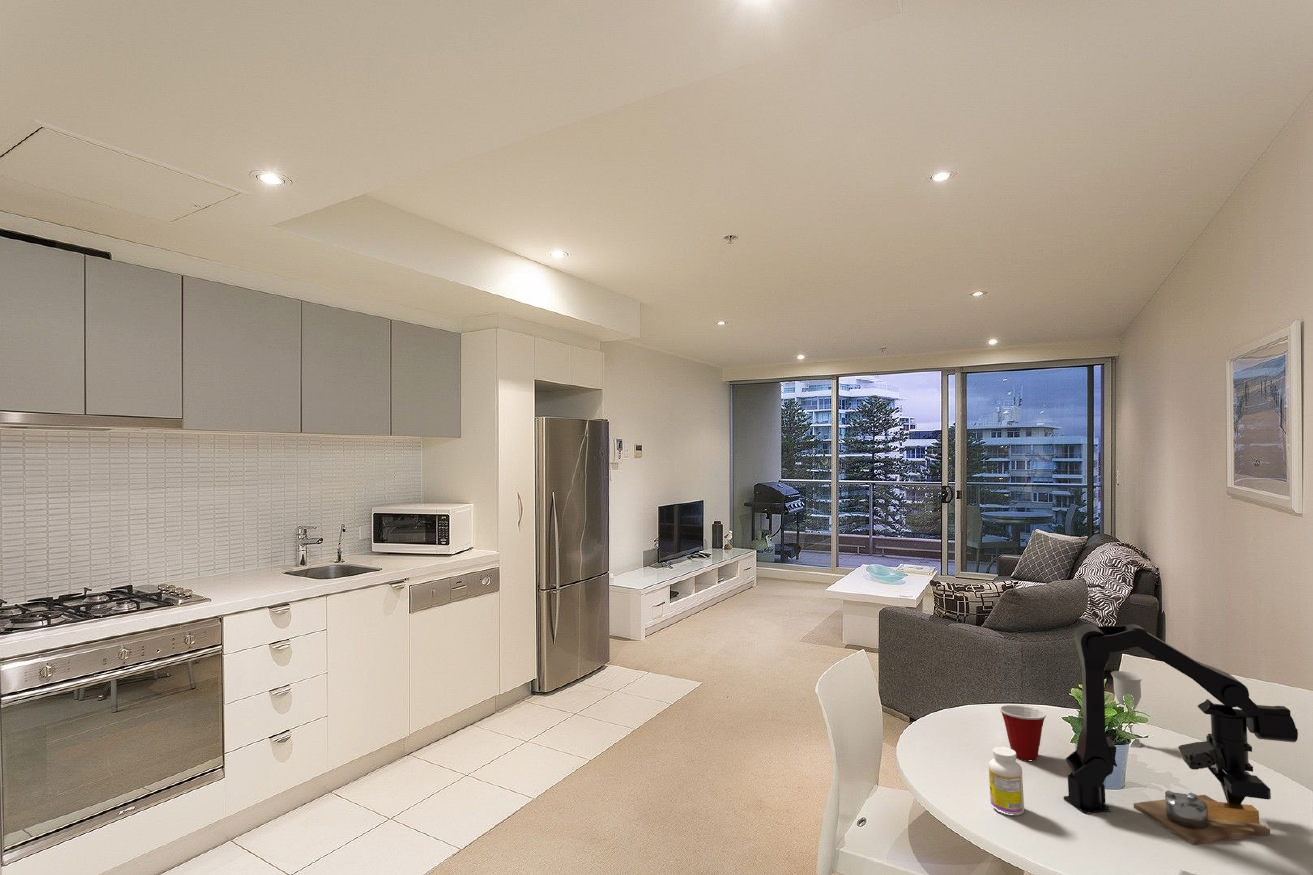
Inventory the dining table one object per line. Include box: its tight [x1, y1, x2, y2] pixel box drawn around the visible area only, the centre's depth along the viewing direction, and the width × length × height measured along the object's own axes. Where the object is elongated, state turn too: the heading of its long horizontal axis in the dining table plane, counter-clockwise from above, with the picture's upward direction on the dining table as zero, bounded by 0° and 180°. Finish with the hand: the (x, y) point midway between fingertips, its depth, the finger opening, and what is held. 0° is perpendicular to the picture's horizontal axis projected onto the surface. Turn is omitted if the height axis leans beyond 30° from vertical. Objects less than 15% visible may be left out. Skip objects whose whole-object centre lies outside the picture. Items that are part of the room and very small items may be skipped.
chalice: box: [1110, 670, 1143, 748], centre depth 177 cm, size 7×7×18 cm
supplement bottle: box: [988, 746, 1025, 816], centre depth 147 cm, size 7×7×13 cm
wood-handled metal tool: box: [1164, 790, 1260, 828], centre depth 137 cm, size 16×7×4 cm, turn 73°
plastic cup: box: [999, 704, 1047, 762], centre depth 171 cm, size 11×11×12 cm
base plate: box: [1133, 794, 1272, 845], centre depth 140 cm, size 18×14×1 cm
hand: (1232, 809), depth 138 cm, fingers closed
